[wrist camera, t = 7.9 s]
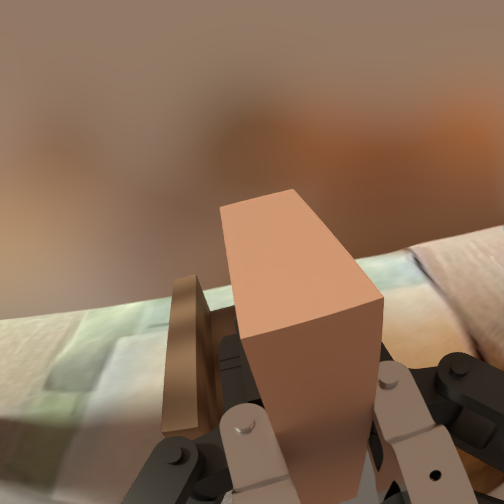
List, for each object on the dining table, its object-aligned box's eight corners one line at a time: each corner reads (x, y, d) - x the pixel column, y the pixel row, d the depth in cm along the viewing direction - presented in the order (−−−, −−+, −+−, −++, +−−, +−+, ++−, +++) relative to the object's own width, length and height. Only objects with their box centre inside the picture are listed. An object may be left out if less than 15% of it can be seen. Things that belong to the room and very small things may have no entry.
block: (356, 497, 11) (383, 296, 5) (304, 512, 11) (240, 339, 5) (322, 403, 16) (293, 188, 10) (279, 415, 16) (219, 207, 10)
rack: (312, 445, 20) (304, 402, 17) (194, 470, 20) (158, 432, 17) (268, 304, 36) (256, 257, 33) (191, 324, 36) (172, 280, 33)
